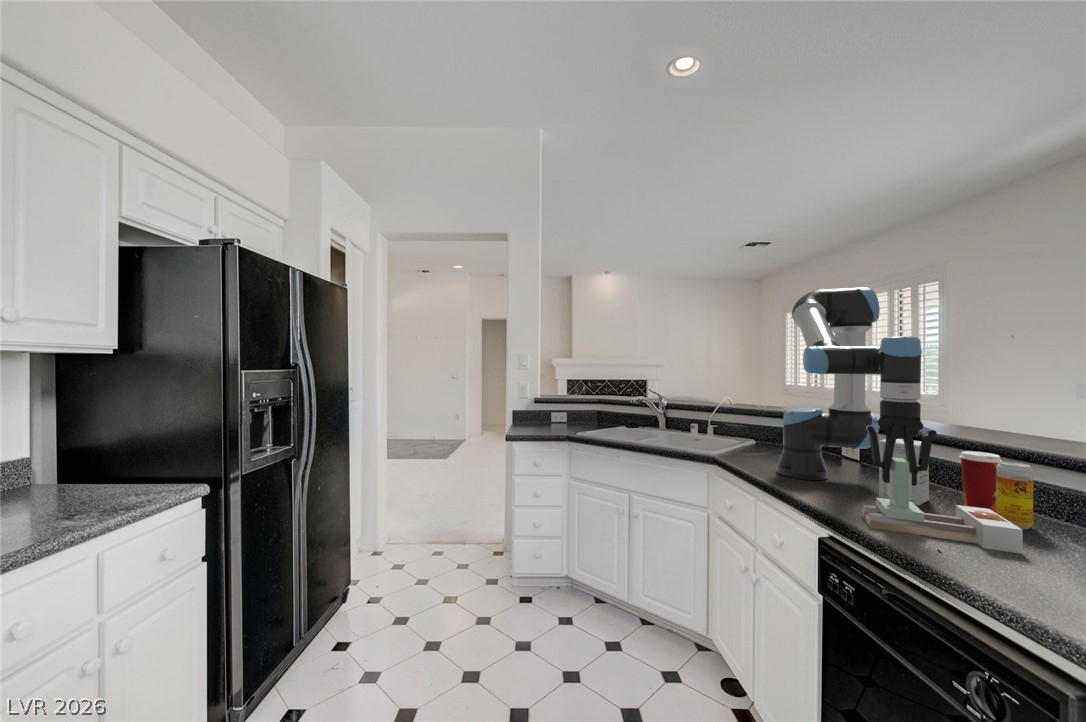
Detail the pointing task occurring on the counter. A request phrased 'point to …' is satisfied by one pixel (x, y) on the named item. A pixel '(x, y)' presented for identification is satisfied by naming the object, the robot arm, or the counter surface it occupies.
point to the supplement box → (922, 488)
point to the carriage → (900, 495)
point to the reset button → (986, 515)
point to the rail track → (922, 525)
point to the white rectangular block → (993, 530)
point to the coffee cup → (979, 479)
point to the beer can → (1015, 493)
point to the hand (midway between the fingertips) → (899, 497)
